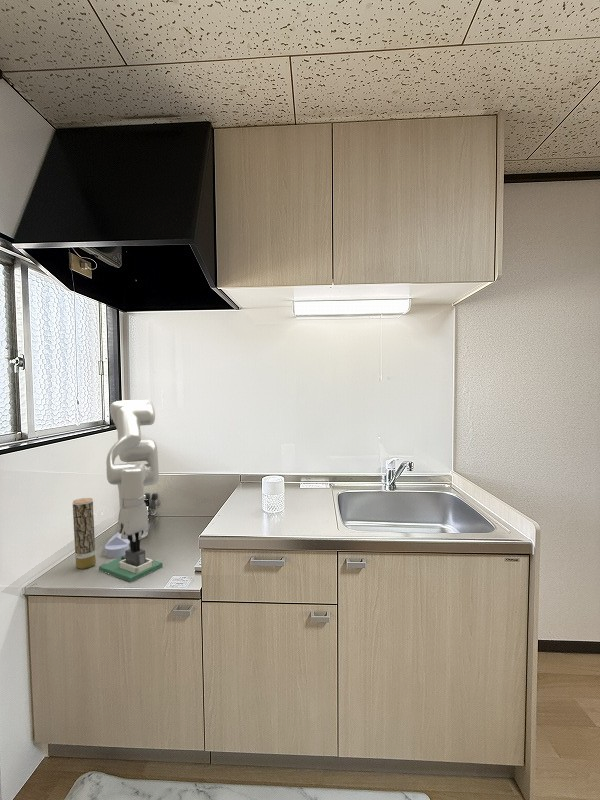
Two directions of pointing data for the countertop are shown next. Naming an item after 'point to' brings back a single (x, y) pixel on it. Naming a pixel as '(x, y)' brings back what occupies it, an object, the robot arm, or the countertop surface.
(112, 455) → the robot arm
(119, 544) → the wedge on round base
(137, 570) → the board
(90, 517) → the bark patterned cylinder
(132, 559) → the plug
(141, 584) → the countertop surface
